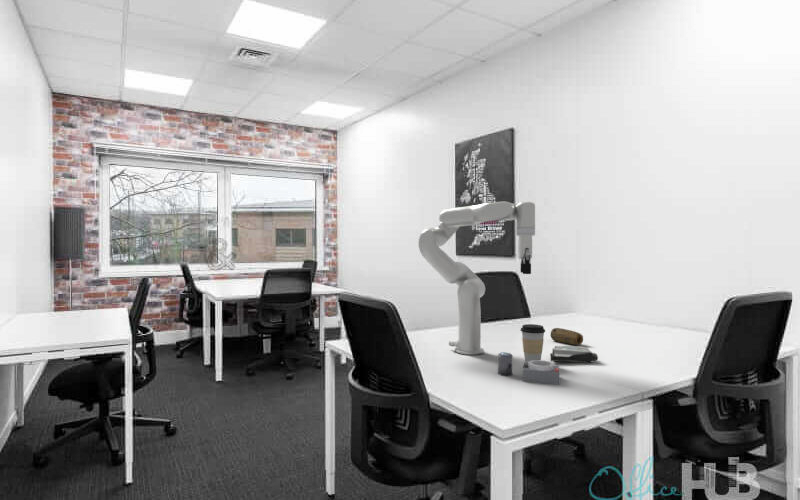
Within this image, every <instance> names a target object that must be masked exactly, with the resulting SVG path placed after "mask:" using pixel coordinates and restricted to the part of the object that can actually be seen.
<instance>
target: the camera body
mask: <svg viewBox="0 0 800 500" xmlns="http://www.w3.org/2000/svg"><path fill="white" fill-rule="evenodd" d="M522 382H527V383H528V382H529V383H540V384H550V385H560V365H555V363H554V362H553V361H552V362H551V361H548V360H544V359H543V360H542V359H541V360H532V361H529V362H528V363H525V362H523V366H522Z"/></svg>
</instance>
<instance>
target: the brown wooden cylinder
mask: <svg viewBox="0 0 800 500" xmlns="http://www.w3.org/2000/svg"><path fill="white" fill-rule="evenodd" d="M550 338H551V339H552V340H553V341H554V342H558V343H562V344H566V345H571V346H574V345H575V346H577V345H579V346H580V345H582V344H583V342H584V335H583V334H581V333H579V332H577V331H575V330H572V329H571V330H570V329H565V328H560V327H554V328H552V329H551V331H550Z"/></svg>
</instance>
